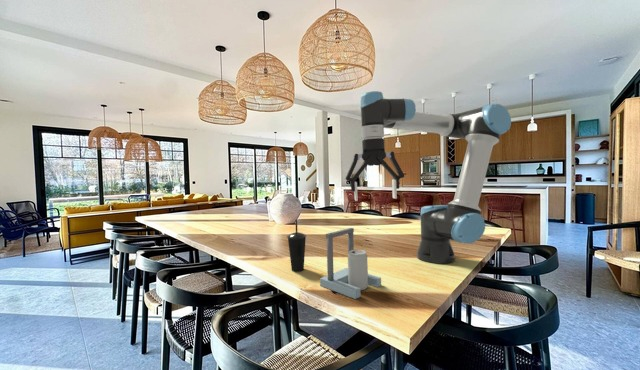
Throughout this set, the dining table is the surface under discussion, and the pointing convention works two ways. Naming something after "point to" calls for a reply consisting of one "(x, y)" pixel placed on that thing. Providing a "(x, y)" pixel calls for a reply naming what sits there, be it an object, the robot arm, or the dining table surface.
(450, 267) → the dining table surface
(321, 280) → the grey arch frame
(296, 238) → the drinking cup
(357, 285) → the beverage can
